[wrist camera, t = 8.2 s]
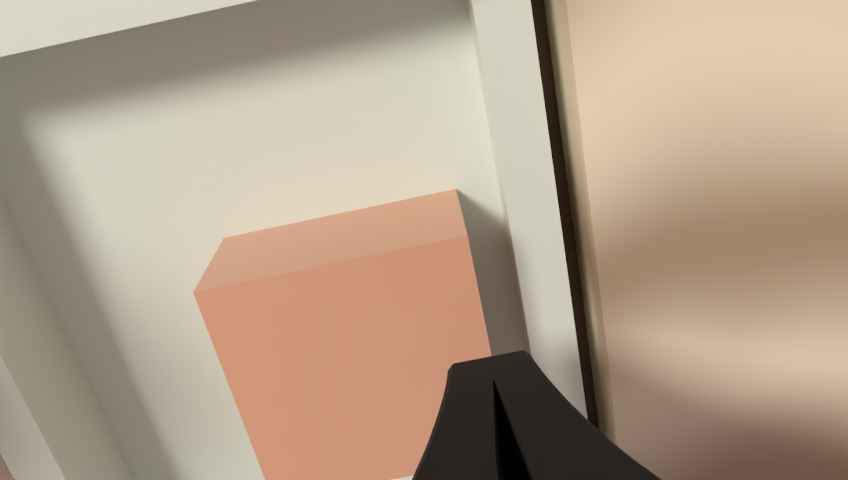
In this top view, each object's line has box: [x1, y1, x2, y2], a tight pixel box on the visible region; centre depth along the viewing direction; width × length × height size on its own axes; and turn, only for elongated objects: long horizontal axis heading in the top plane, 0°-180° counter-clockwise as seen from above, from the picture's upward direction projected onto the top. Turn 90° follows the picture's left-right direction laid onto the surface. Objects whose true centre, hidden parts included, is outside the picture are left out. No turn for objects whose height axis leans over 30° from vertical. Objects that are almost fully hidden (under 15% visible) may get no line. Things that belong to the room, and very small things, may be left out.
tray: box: [0, 0, 588, 480], centre depth 15 cm, size 16×12×2 cm
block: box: [193, 189, 492, 480], centre depth 15 cm, size 5×5×2 cm
